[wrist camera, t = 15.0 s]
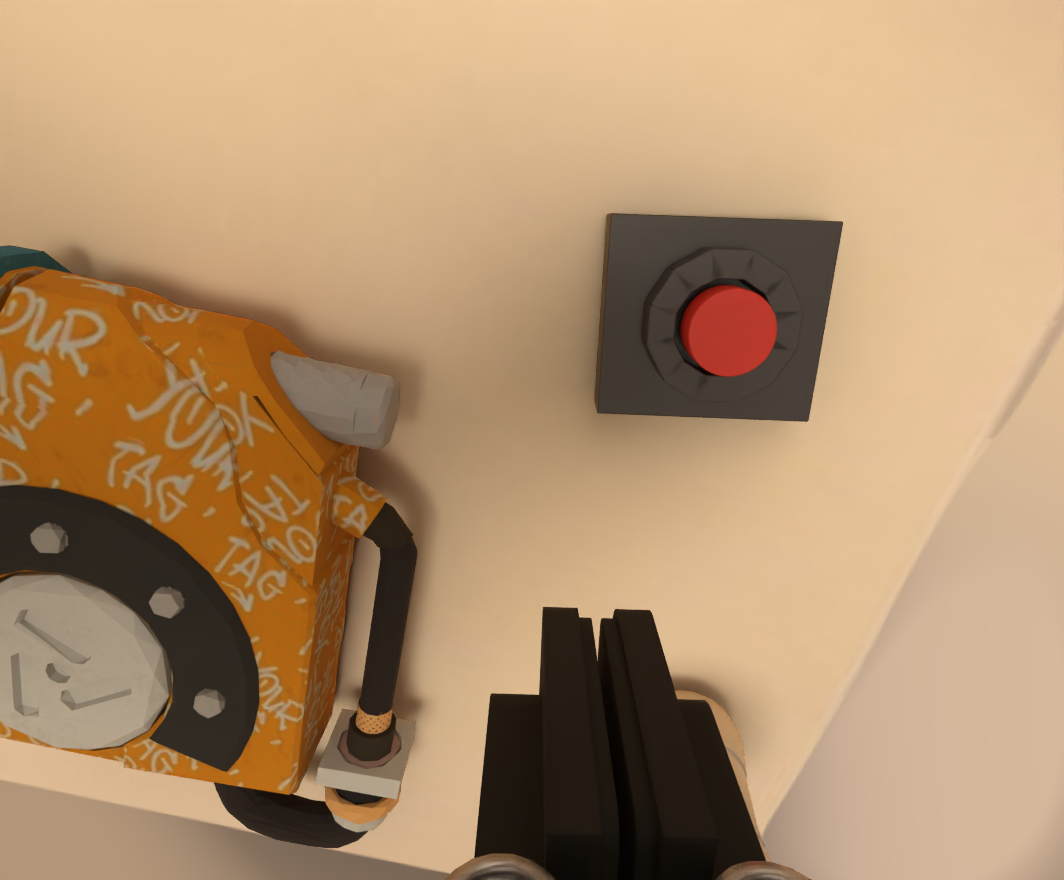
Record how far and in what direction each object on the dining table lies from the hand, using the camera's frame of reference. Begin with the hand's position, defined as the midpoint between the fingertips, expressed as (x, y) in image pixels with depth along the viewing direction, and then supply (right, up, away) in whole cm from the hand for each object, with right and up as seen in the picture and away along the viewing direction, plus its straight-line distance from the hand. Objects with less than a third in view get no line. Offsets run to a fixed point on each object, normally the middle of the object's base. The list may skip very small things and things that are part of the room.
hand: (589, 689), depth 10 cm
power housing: (+7, +10, +21) cm, 25 cm away
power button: (+7, +9, +18) cm, 21 cm away
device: (-17, -2, +26) cm, 32 cm away
